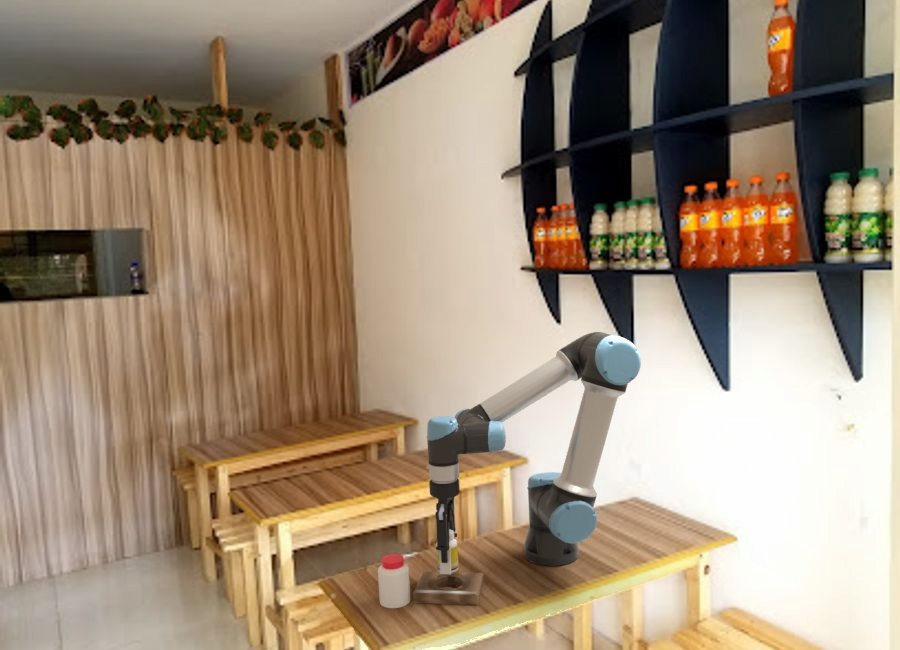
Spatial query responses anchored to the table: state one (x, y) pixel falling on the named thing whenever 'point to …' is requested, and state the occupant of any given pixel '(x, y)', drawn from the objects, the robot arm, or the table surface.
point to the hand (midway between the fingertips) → (447, 567)
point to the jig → (464, 594)
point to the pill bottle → (394, 582)
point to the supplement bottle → (453, 553)
